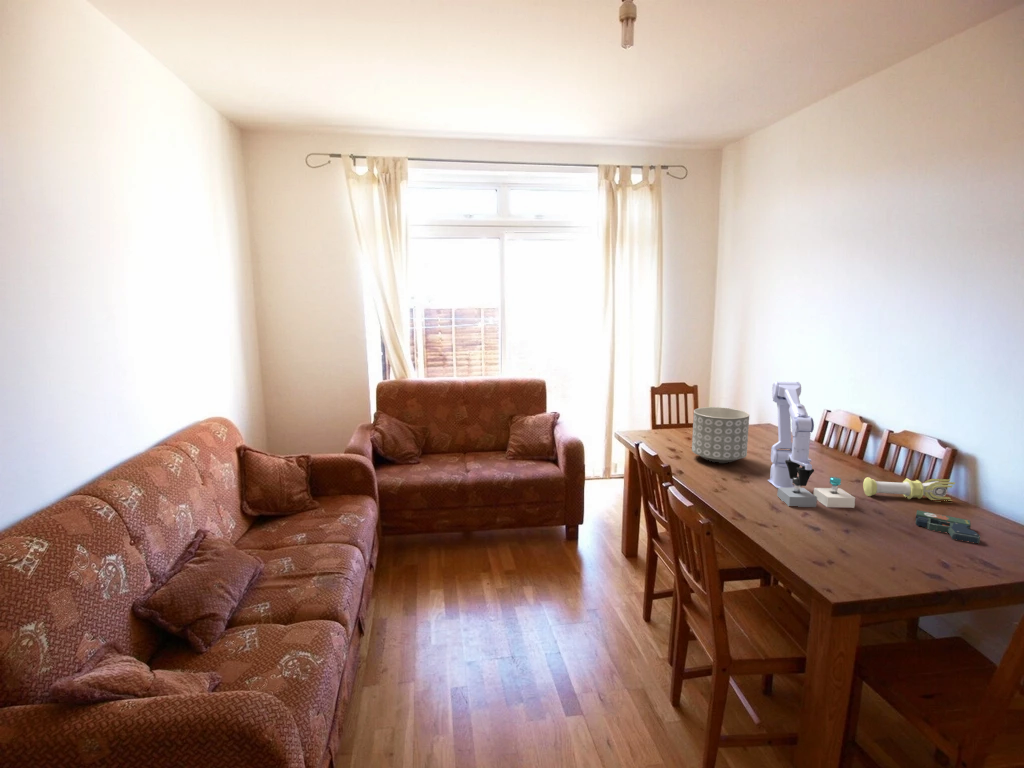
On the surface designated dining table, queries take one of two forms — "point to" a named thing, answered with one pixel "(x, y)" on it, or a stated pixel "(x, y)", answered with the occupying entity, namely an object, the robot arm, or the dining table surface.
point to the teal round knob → (835, 484)
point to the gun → (947, 525)
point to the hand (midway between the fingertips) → (797, 482)
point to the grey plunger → (796, 485)
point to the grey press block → (797, 497)
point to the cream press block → (834, 498)
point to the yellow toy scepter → (909, 488)
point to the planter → (720, 434)
